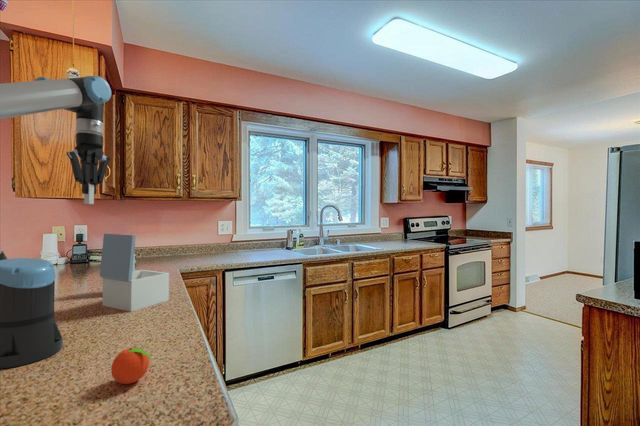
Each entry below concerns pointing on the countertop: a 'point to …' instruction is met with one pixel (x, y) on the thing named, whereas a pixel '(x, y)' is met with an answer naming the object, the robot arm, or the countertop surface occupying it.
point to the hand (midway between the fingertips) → (89, 203)
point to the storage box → (136, 290)
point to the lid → (117, 257)
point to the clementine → (130, 365)
